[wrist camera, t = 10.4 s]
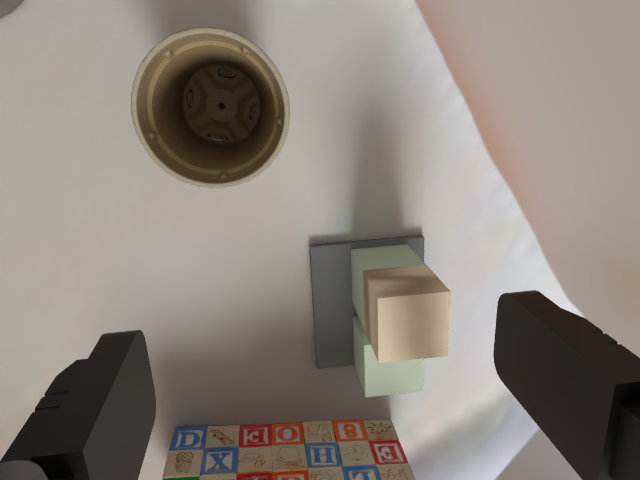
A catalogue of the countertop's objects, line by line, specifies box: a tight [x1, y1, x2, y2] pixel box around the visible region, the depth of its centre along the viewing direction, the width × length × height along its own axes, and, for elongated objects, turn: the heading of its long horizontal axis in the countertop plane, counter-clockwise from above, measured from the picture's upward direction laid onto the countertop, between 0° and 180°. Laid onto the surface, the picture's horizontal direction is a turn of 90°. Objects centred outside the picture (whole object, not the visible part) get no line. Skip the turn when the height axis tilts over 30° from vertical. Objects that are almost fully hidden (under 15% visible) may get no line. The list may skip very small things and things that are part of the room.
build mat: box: [310, 235, 424, 369], centre depth 43 cm, size 10×12×1 cm
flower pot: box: [131, 27, 290, 188], centre depth 33 cm, size 9×9×9 cm
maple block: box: [363, 265, 450, 363], centre depth 35 cm, size 5×5×5 cm
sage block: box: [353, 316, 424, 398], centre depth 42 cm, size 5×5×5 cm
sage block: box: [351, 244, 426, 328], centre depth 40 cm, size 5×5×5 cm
